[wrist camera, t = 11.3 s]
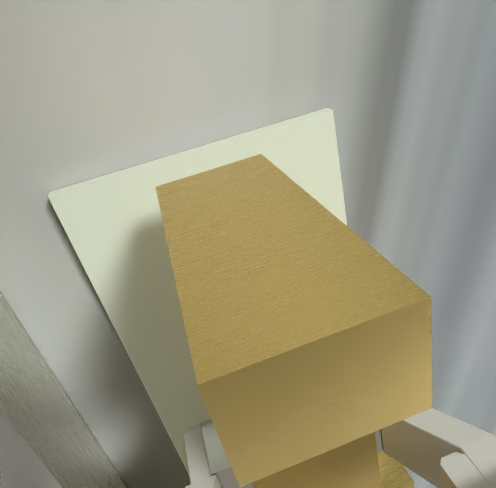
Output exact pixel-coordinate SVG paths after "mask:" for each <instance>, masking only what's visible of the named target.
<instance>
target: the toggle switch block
mask: <svg viewBox="0 0 496 488" xmlns="http://www.w3.org/2000/svg"><path fill="white" fill-rule="evenodd" d="M0 488H127V487H126V486H125V484H124V483H123V481H122V480H121V478H120V477H119V475H118V473H117V472H116V470H115V469H114V467H113V466H112V464H111V463H110V461H109V460H108V458H107V457H106V455H105V453H104V452H103V450H102V449H101V447H100V446H99V444H98V443H97V441H96V440H95V438H94V437H93V435H92V433H91V432H90V430H89V429H88V427H87V426H86V424H85V423H84V421H83V420H82V418H81V417H80V415H79V413H78V412H77V410H76V409H75V407H74V406H73V404H72V403H71V401H70V400H69V398H68V396H67V395H66V393H65V392H64V390H63V389H62V387H61V386H60V384H59V383H58V381H57V380H56V378H55V376H54V375H53V373H52V372H51V370H50V369H49V367H48V366H47V364H46V363H45V361H44V360H43V358H42V356H41V355H40V353H39V352H38V350H37V349H36V347H35V346H34V344H33V343H32V341H31V340H30V338H29V336H28V335H27V333H26V332H25V330H24V329H23V327H22V326H21V324H20V323H19V321H18V320H17V318H16V316H15V315H14V313H13V312H12V310H11V309H10V307H9V306H8V304H7V303H6V301H5V300H4V298H3V296H2V295H1V293H0Z"/></svg>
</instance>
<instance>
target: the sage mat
mask: <svg viewBox="0 0 496 488" xmlns="http://www.w3.org/2000/svg"><path fill="white" fill-rule="evenodd" d="M259 154H262V155H263V156H265V157H266V158H267V159H268V160H269V161H270V162H272V163H273V164H274V165H275V166H276V167H278V168H279V169H280V170H281V171H282V172H284V173H285V174H286V175H287V176H288V177H289V178H291V179H292V180H293V181H294V182H295V183H297V184H298V185H299V186H300V187H301V188H303V189H304V190H305V191H306V192H307V193H308V194H310V195H311V196H312V197H313V198H314V199H316V200H317V201H318V202H319V203H320V204H322V205H323V206H324V207H325V208H326V209H327V210H329V211H330V212H331V213H332V214H333V215H335V216H336V217H337V218H338V219H339V220H340V221H342V222H343V223H344V224H345V225H346V226H347V221H346V213H345V205H344V197H343V189H342V181H341V173H340V164H339V156H338V148H337V140H336V132H335V124H334V116H333V110H331V109H328V108H325V109H322V110H318V111H315V112H312V113H308V114H305V115H302V116H299V117H295V118H292V119H289V120H285V121H282V122H279V123H275V124H272V125H269V126H266V127H262V128H259V129H256V130H252V131H249V132H246V133H242V134H239V135H236V136H233V137H229V138H226V139H223V140H219V141H216V142H213V143H209V144H206V145H203V146H200V147H196V148H193V149H190V150H186V151H183V152H180V153H176V154H173V155H170V156H167V157H163V158H160V159H157V160H153V161H150V162H147V163H143V164H140V165H137V166H134V167H130V168H127V169H124V170H120V171H117V172H114V173H111V174H107V175H104V176H101V177H97V178H94V179H91V180H87V181H84V182H81V183H78V184H74V185H71V186H68V187H64V188H61V189H58V190H54V191H51V192H50V193H49V196H48V198H49V200H50V202H51V204H52V206H53V208H54V210H55V212H56V214H57V216H58V218H59V220H60V222H61V224H62V226H63V227H64V229H65V231H66V233H67V235H68V237H69V239H70V241H71V243H72V245H73V247H74V249H75V251H76V253H77V255H78V257H79V259H80V261H81V263H82V265H83V267H84V269H85V271H86V273H87V275H88V277H89V279H90V281H91V283H92V285H93V287H94V289H95V291H96V293H97V295H98V297H99V299H100V300H101V302H102V304H103V306H104V308H105V310H106V312H107V314H108V316H109V318H110V320H111V322H112V324H113V326H114V328H115V330H116V332H117V334H118V336H119V338H120V340H121V342H122V344H123V346H124V348H125V350H126V352H127V354H128V356H129V358H130V360H131V362H132V364H133V366H134V368H135V370H136V372H137V373H138V375H139V377H140V379H141V381H142V383H143V385H144V387H145V389H146V391H147V393H148V395H149V397H150V399H151V401H152V403H153V405H154V407H155V409H156V411H157V413H158V415H159V417H160V419H161V421H162V423H163V425H164V427H165V429H166V431H167V433H168V435H169V437H170V439H171V441H172V443H173V445H174V447H175V448H176V450H177V452H178V454H179V456H180V458H181V460H182V462H183V464H184V466H185V468H186V470H187V472H188V465H187V458H186V451H185V444H184V438H183V430H184V429H186V428H188V427H191V426H194V425H196V424H199V423H201V422H204V421H207V420H210V419H211V417H210V414H209V412H208V410H207V407H206V405H205V402H204V400H203V398H202V395H201V393H200V390H199V388H198V385H197V381H196V376H195V372H194V367H193V362H192V357H191V353H190V348H189V343H188V339H187V334H186V329H185V324H184V320H183V315H182V310H181V306H180V301H179V296H178V291H177V287H176V282H175V277H174V273H173V268H172V263H171V258H170V254H169V249H168V244H167V240H166V235H165V230H164V225H163V221H162V216H161V211H160V206H159V202H158V197H157V192H156V188H155V187H156V186H159V185H163V184H166V183H169V182H172V181H175V180H179V179H182V178H185V177H188V176H191V175H195V174H198V173H201V172H204V171H208V170H211V169H214V168H217V167H220V166H224V165H227V164H230V163H233V162H236V161H240V160H243V159H246V158H249V157H252V156H256V155H259ZM188 474H189V472H188Z"/></svg>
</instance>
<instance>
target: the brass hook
mask: <svg viewBox="0 0 496 488" xmlns="http://www.w3.org/2000/svg"><path fill="white" fill-rule="evenodd" d="M155 188H156V192H157V197H158V202H159V206H160V211H161V216H162V221H163V225H164V230H165V235H166V240H167V244H168V249H169V254H170V258H171V263H172V268H173V273H174V277H175V282H176V287H177V291H178V296H179V301H180V306H181V310H182V315H183V320H184V324H185V329H186V334H187V339H188V343H189V348H190V353H191V357H192V362H193V367H194V372H195V376H196V381H197V385H198V388H199V390H200V393H201V395H202V398H203V400H204V402H205V405H206V407H207V410H208V412H209V414H210V417H211V419H212V422H213V424H214V426H215V429H216V431H217V434H218V436H219V439H220V441H221V443H222V446H223V448H224V451H225V453H226V455H227V458H228V460H229V463H230V465H231V467H232V470H233V472H234V475H235V477H236V480H237V482H238V484H239V487H243V486H245V485H247V484H250V483H252V485H253V487H254V488H414V481H413V480H412V478H411V477H410V475H409V474H408V472H407V471H406V469H405V468H404V466H403V465H402V464H401V463H399V462H398V461H396V460H395V459H393V458H392V457H390V456H389V455H387V454H386V453H384V451H381V452H378V453H377V444H376V436H375V431H378V430H380V429H382V428H385V427H387V426H390V425H392V424H394V423H397V422H399V421H402V420H404V419H407V418H409V417H411V416H414V415H416V414H419V413H421V412H423V411H426V410H428V409H431V408H432V322H431V296H429V295H428V294H427V293H426V292H425V291H424V290H422V289H421V288H420V287H419V286H418V285H416V284H415V283H414V282H413V281H412V280H410V279H409V278H408V277H407V276H406V275H405V274H403V273H402V272H401V271H400V270H399V269H397V268H396V267H395V266H394V265H393V264H392V263H390V262H389V261H388V260H387V259H386V258H384V257H383V256H382V255H381V254H380V253H378V252H377V251H376V250H375V249H374V248H373V247H371V246H370V245H369V244H368V243H367V242H365V241H364V240H363V239H362V238H361V237H359V236H358V235H357V234H356V233H355V232H354V231H352V230H351V229H350V228H349V227H348V226H346V225H345V224H344V223H343V222H342V221H340V220H339V219H338V218H337V217H336V216H335V215H333V214H332V213H331V212H330V211H329V210H327V209H326V208H325V207H324V206H323V205H322V204H320V203H319V202H318V201H317V200H316V199H314V198H313V197H312V196H311V195H310V194H308V193H307V192H306V191H305V190H304V189H303V188H301V187H300V186H299V185H298V184H297V183H295V182H294V181H293V180H292V179H291V178H289V177H288V176H287V175H286V174H285V173H284V172H282V171H281V170H280V169H279V168H278V167H276V166H275V165H274V164H273V163H272V162H270V161H269V160H268V159H267V158H266V157H265V156H263V155H262V154H259V155H256V156H252V157H249V158H246V159H243V160H240V161H236V162H233V163H230V164H227V165H224V166H220V167H217V168H214V169H211V170H208V171H204V172H201V173H198V174H195V175H191V176H188V177H185V178H182V179H179V180H175V181H172V182H169V183H166V184H163V185H159V186H156V187H155Z"/></svg>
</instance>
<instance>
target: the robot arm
mask: <svg viewBox="0 0 496 488" xmlns="http://www.w3.org/2000/svg"><path fill="white" fill-rule="evenodd" d="M375 436H376V444H377V453H378V452H381V451H384V453H386V454H387V455H389V456H390V457H392V458H393V459H395V460H396V461H398V462H399V463H401V464H402V465H404V466H406V467H407V468H409V469H410V470H412V471H413V472H415V473H416V474H418V475H419V476H421V477H422V478H424V479H425V480H427V481H428V482H430V483H431V484H433V485H435V486H436V487H438V488H496V438H495V437H494V436H493V435H492V434H490V433H488V432H486V431H483V430H481V429H479V428H476V427H474V426H472V425H470V424H467V423H465V422H463V421H461V420H458V419H456V418H454V417H451V416H449V415H447V414H445V413H442V412H440V411H438V410H435V409H433V408H431V409H428V410H426V411H423V412H421V413H419V414H416V415H414V416H411V417H409V418H407V419H404V420H402V421H399V422H397V423H394V424H392V425H390V426H387V427H385V428H382V429H380V430H378V431H375ZM183 438H184V444H185V451H186V458H187V465H188V472H189V478H190V485H188V486H186V487H185V488H254V487H253V485H252V483H250V484H247V485H245V486H243V487H239V484H238V482H237V480H236V477H235V475H234V472H233V470H232V467H231V465H230V463H229V460H228V458H227V455H226V453H225V451H224V448H223V446H222V443H221V441H220V439H219V436H218V434H217V431H216V429H215V426H214V424H213V422H212V419H210V420H207V421H204V422H201V423H199V424H196V425H194V426H191V427H188V428H186V429H184V430H183Z"/></svg>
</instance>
